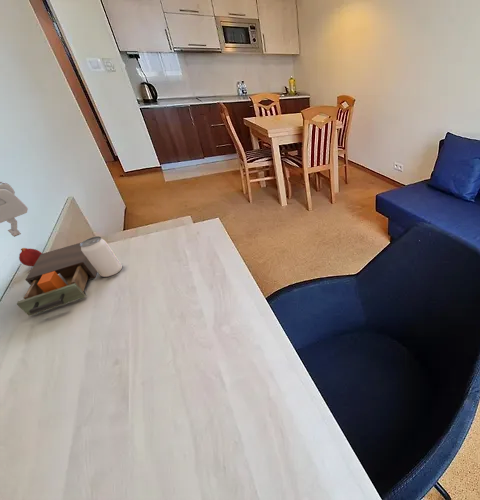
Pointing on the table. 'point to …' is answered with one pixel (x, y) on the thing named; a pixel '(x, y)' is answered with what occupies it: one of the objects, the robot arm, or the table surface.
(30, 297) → the drawer
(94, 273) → the cabinet
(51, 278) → the orange wooden toy brick
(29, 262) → the onion
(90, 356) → the table surface
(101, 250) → the can
